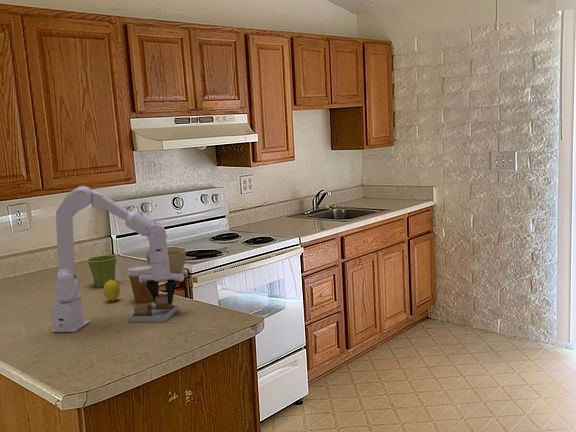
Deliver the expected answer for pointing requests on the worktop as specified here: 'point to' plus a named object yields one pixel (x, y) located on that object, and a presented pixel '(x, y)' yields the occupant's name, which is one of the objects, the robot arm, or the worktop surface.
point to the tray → (155, 315)
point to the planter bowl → (174, 259)
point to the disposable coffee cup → (140, 283)
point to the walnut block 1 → (143, 309)
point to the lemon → (111, 290)
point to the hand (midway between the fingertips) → (164, 302)
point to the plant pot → (102, 268)
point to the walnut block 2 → (162, 302)
